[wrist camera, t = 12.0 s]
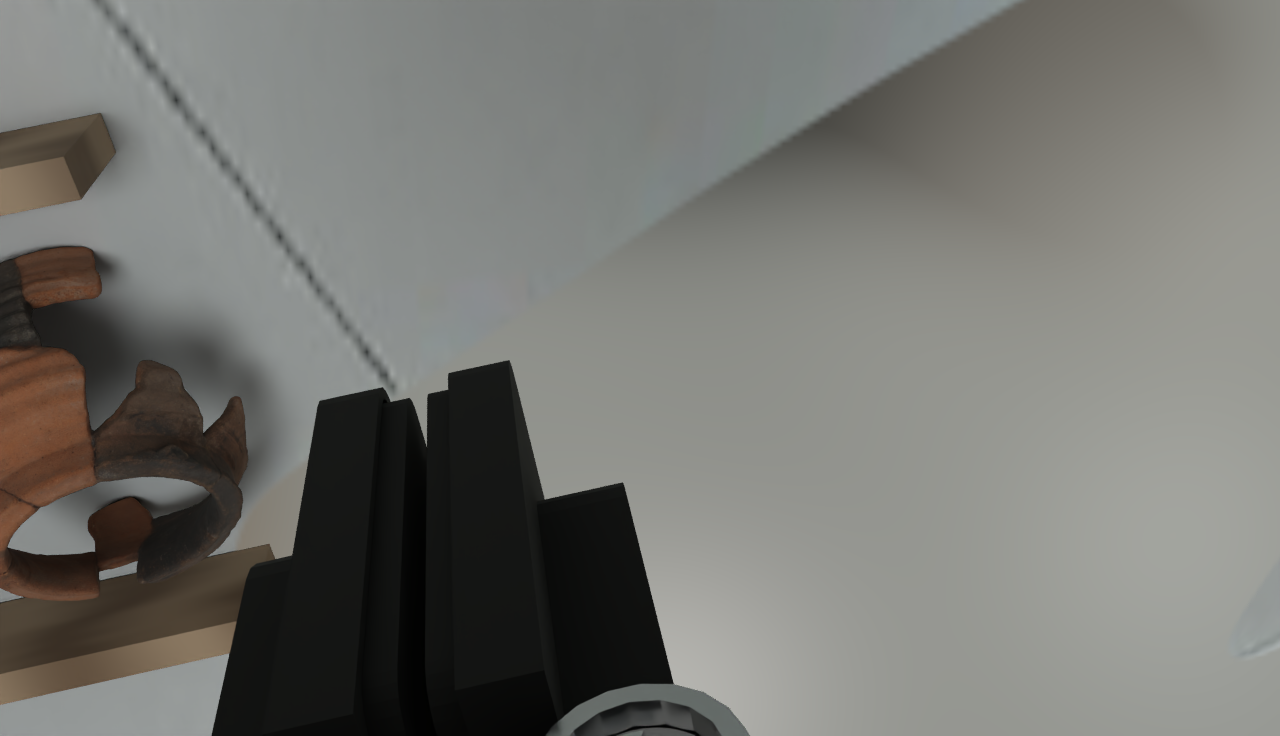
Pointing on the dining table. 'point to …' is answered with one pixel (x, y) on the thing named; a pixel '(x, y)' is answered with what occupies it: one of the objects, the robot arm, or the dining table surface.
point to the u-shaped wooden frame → (125, 610)
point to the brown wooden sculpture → (101, 446)
